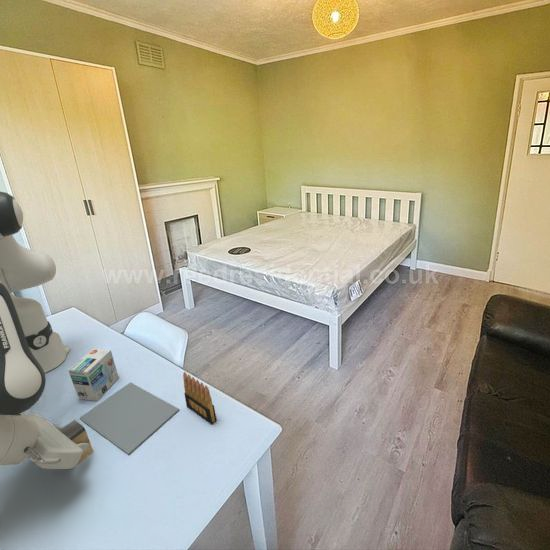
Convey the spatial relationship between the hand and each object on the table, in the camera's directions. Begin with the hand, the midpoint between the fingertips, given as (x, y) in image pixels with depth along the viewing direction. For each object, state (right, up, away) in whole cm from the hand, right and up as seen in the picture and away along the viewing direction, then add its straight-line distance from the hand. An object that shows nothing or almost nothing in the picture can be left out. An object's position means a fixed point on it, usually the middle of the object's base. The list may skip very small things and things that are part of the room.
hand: (76, 439), depth 78 cm
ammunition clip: (+27, +1, +11) cm, 30 cm away
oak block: (0, -4, +1) cm, 4 cm away
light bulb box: (-7, +4, +23) cm, 24 cm away
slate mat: (+7, +1, +12) cm, 14 cm away
